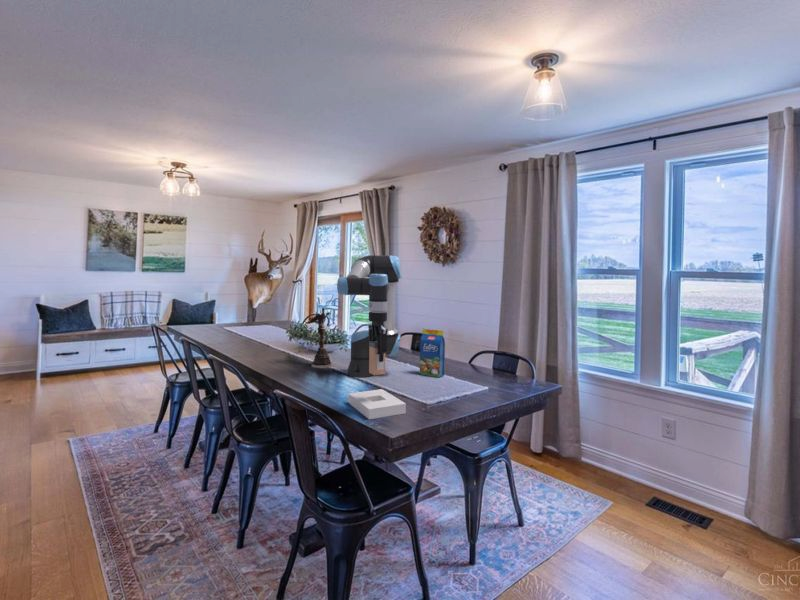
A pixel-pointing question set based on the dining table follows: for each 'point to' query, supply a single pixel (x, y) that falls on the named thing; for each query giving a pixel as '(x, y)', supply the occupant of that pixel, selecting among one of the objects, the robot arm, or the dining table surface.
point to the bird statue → (321, 356)
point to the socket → (376, 403)
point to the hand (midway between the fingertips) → (377, 367)
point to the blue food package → (432, 353)
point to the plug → (374, 359)
